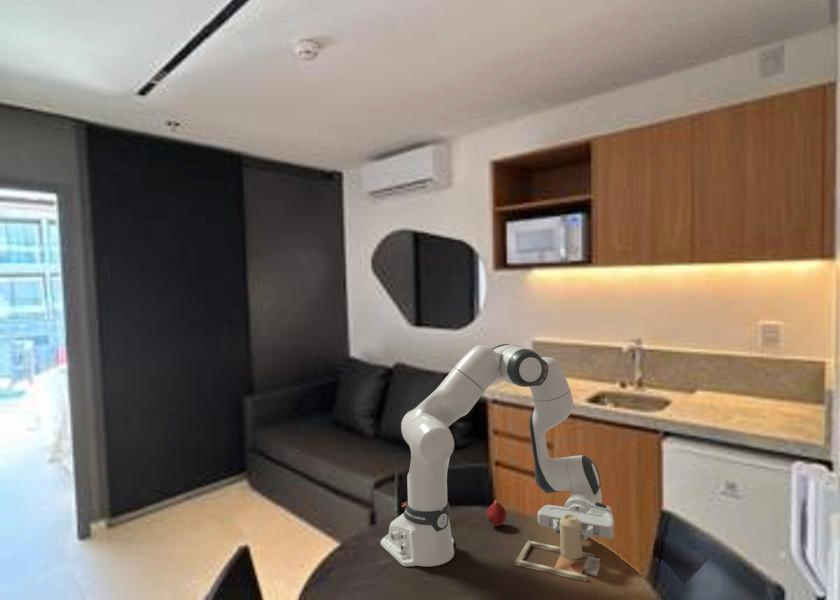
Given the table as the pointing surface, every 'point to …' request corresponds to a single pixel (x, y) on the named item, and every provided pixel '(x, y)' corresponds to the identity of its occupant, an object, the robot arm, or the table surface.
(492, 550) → the table surface
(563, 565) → the beige frame
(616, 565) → the table surface
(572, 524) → the candle
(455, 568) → the table surface
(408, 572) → the table surface
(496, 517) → the onion
